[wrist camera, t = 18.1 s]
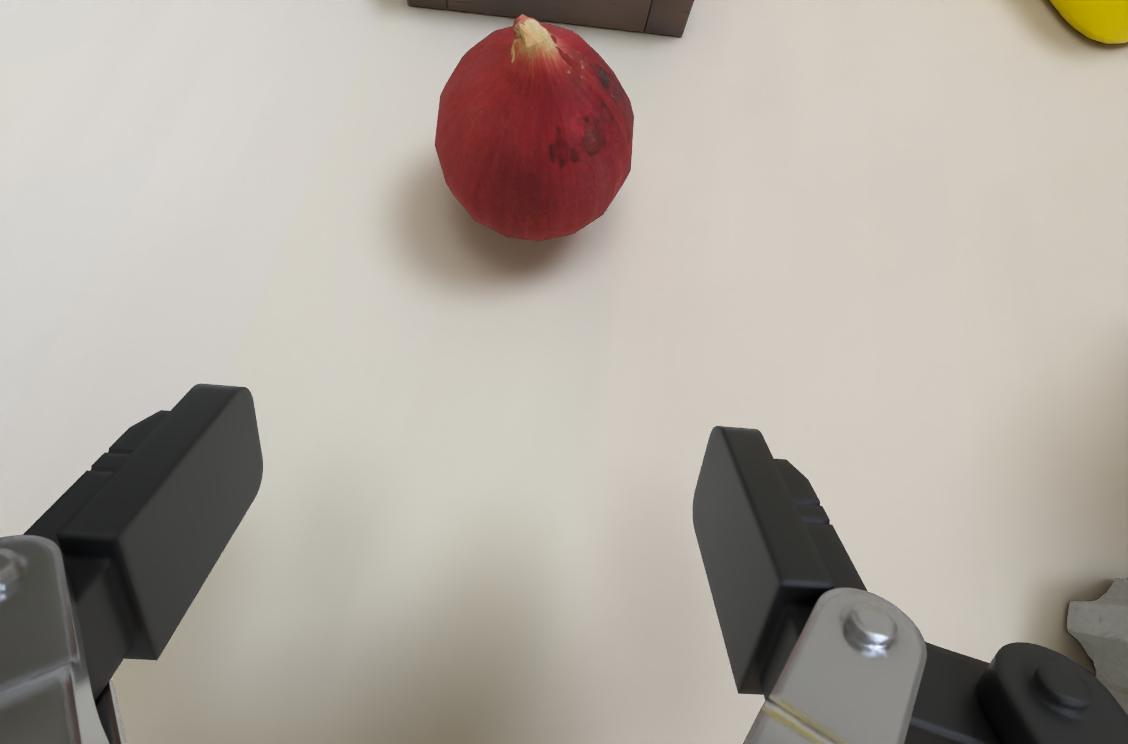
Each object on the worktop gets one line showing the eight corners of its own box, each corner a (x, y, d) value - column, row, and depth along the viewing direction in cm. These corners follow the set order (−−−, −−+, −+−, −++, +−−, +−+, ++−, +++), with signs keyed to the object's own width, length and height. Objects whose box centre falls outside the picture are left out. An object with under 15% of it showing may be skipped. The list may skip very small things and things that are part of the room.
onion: (615, 141, 24) (666, -56, 16) (609, 286, 22) (663, 147, 14) (456, 125, 23) (430, -83, 16) (439, 272, 22) (400, 121, 14)
